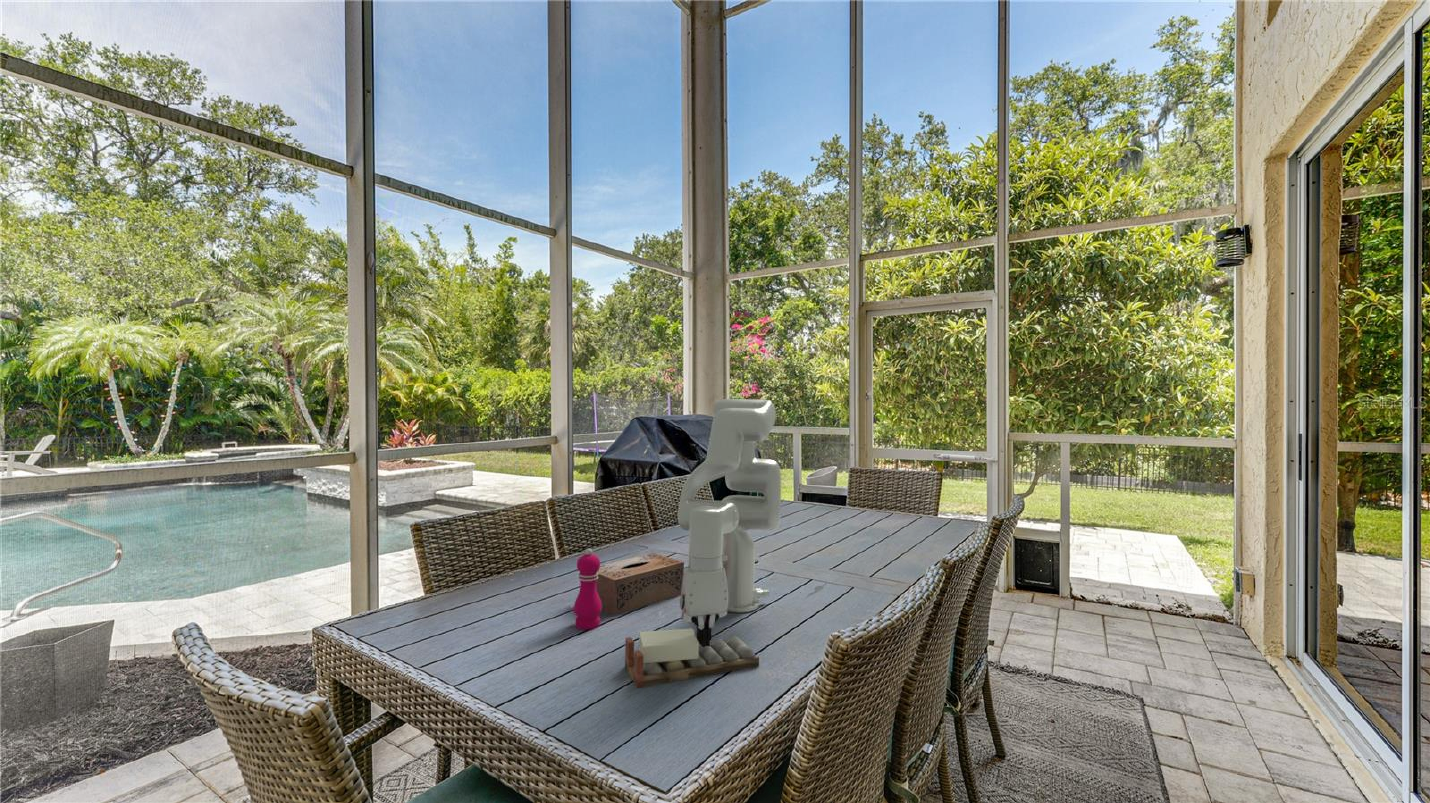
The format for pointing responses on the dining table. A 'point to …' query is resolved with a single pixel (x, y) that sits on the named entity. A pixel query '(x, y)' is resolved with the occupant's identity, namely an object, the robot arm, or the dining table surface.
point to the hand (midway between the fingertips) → (703, 644)
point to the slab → (668, 645)
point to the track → (691, 662)
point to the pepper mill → (588, 592)
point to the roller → (673, 665)
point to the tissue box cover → (638, 582)
